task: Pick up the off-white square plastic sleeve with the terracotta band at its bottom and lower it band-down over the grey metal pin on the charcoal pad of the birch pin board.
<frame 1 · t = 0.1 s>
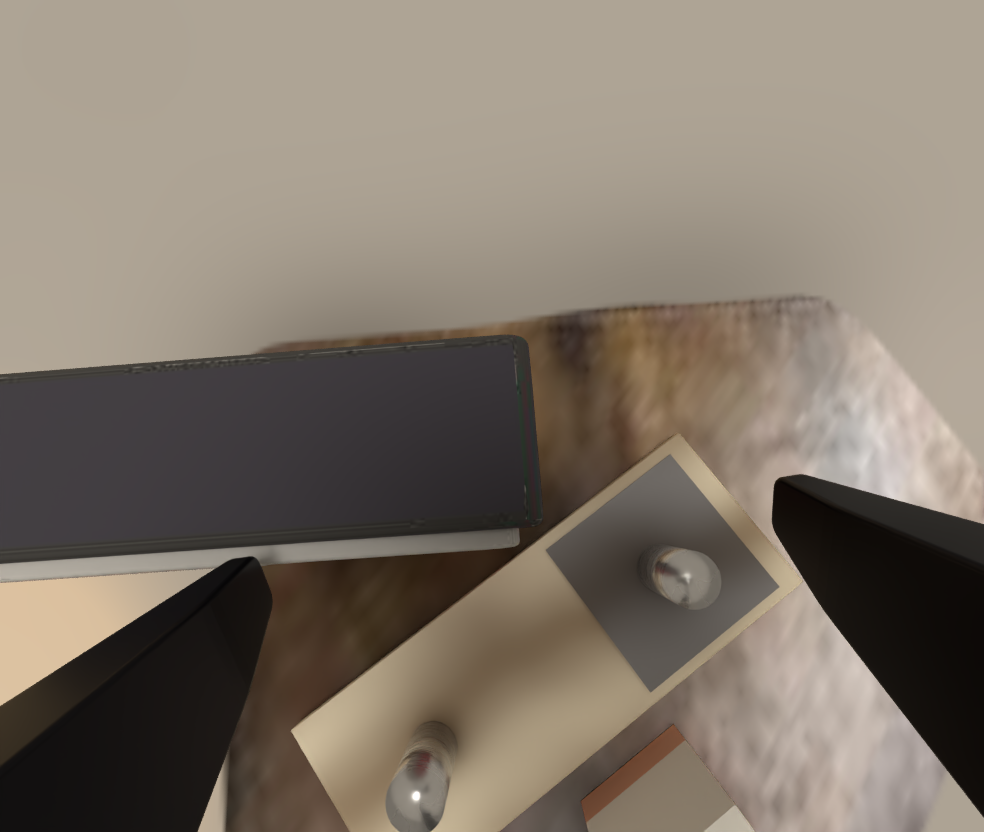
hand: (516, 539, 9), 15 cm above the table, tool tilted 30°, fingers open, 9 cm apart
pin board: (547, 649, 22), on the table
pins: (553, 669, 19), on the pin board, point 3 cm above the table
upright charcoal slab: (406, 496, 24), on the table, touching gripper
sleeve: (666, 817, 21), on the table
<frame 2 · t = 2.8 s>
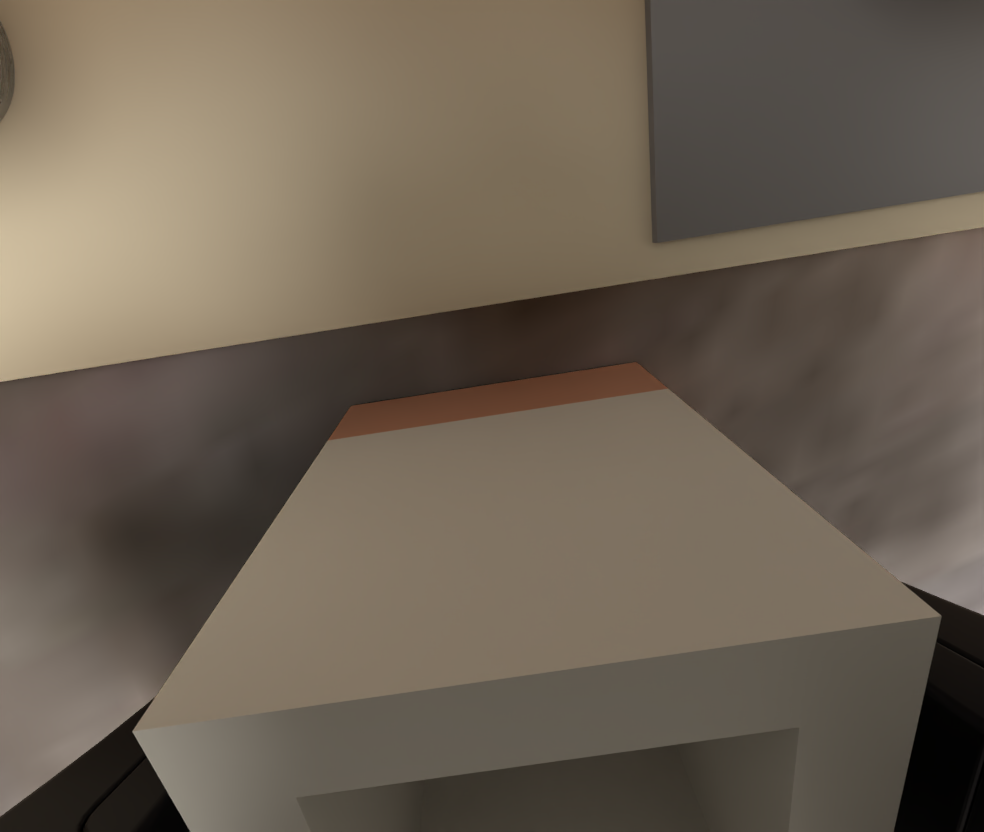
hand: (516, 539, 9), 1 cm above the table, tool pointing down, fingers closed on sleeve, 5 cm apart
sleeve: (512, 507, 10), on the table, touching gripper
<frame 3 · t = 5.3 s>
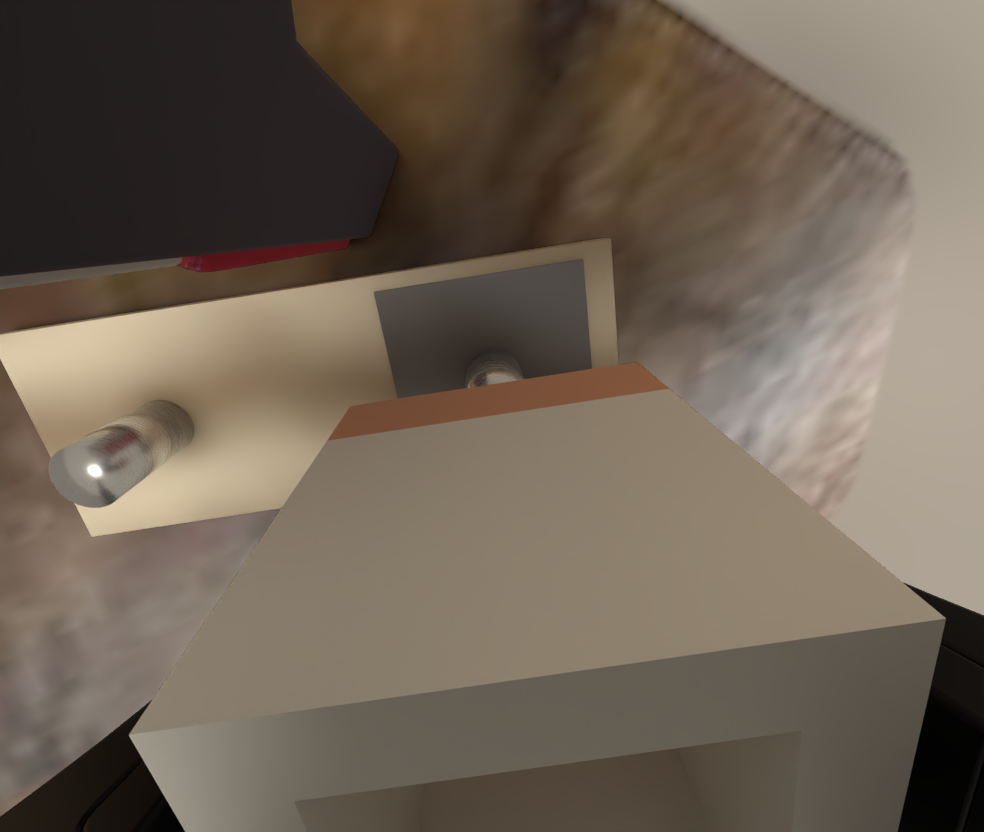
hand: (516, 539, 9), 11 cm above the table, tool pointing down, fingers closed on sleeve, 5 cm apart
pin board: (335, 392, 19), on the table
pins: (312, 420, 16), on the pin board, point 3 cm above the table
upright charcoal slab: (223, 121, 16), on the table
sleeve: (512, 508, 10), point 10 cm above the table, touching gripper
when the fingers open (4 cm above the table, at t = 7.6 s): sleeve drops 2 cm, resting on pin board.
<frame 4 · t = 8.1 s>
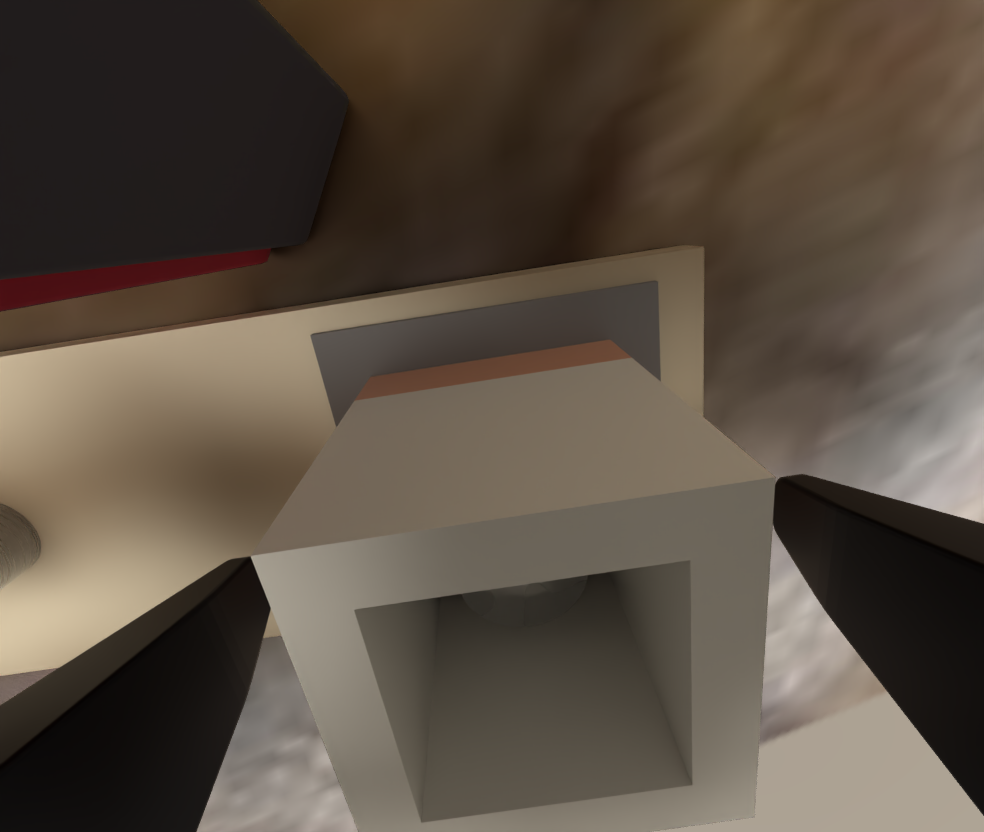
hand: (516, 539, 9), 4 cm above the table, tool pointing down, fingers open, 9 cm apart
pin board: (264, 478, 12), on the table
pins: (204, 552, 10), on the pin board, point 3 cm above the table
upright charcoal slab: (50, 48, 9), on the table
sleeve: (506, 465, 11), point 1 cm above the table, touching pin board
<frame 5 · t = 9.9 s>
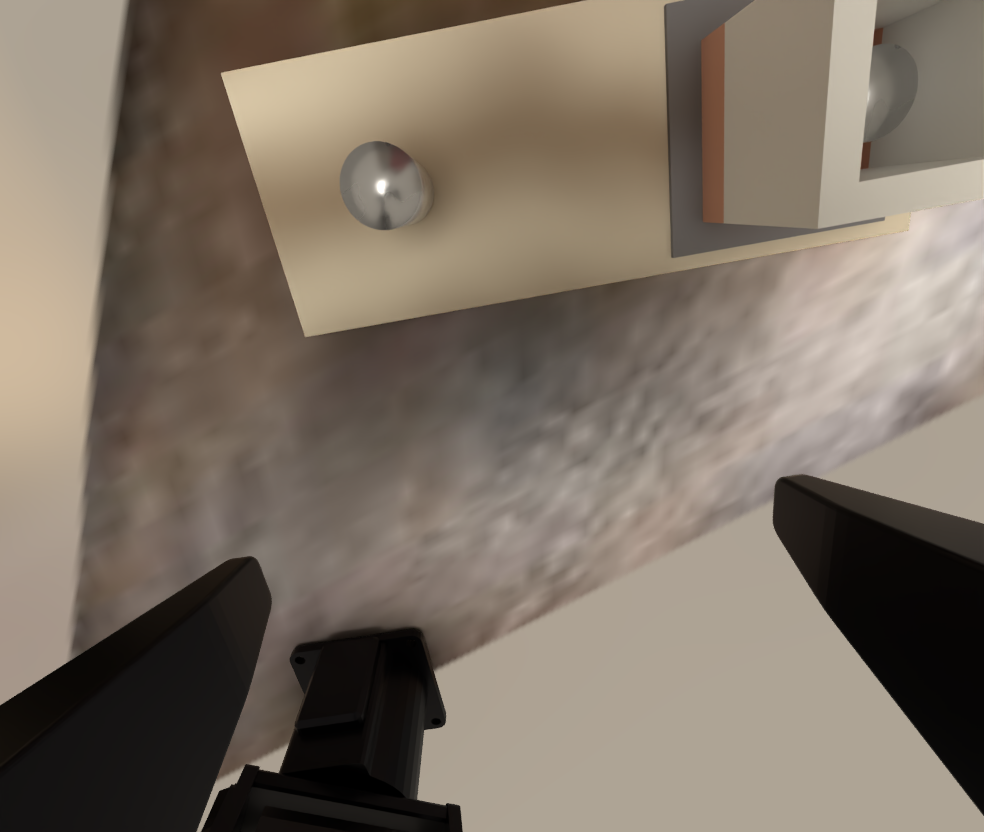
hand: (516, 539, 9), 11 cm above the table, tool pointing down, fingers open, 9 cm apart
pin board: (582, 160, 17), on the table
pins: (603, 150, 14), on the pin board, point 3 cm above the table
sleeve: (783, 121, 15), point 1 cm above the table, touching pin board
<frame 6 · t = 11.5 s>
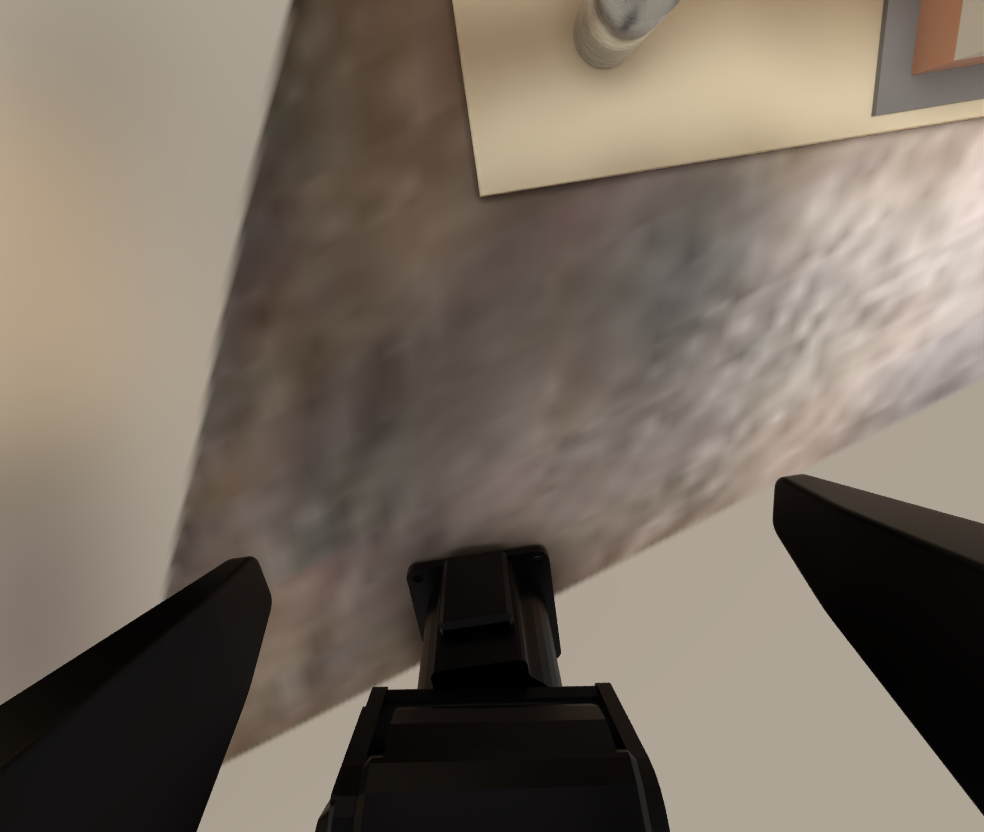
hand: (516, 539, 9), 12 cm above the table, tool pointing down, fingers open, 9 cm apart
pin board: (783, 11, 16), on the table
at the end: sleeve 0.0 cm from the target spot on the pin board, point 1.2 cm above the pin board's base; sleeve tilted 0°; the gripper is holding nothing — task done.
